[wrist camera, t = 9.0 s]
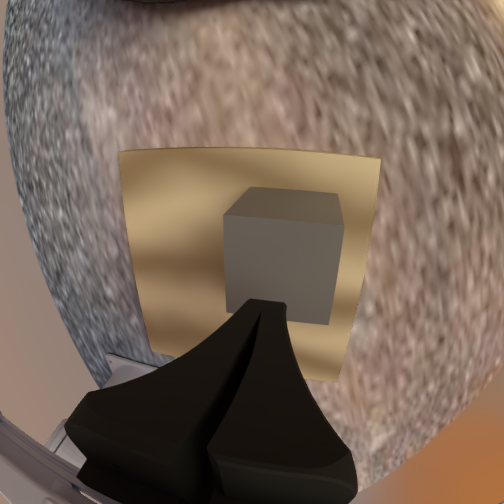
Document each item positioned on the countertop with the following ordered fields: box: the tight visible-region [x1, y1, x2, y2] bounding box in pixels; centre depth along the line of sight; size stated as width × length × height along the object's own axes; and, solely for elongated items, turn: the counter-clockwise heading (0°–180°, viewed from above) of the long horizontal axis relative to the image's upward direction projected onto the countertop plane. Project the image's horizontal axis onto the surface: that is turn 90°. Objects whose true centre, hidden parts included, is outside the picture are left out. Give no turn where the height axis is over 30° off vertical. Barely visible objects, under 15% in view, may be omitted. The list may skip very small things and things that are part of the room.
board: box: [119, 147, 381, 382], centre depth 22 cm, size 18×17×1 cm
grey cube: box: [223, 187, 345, 325], centre depth 16 cm, size 5×5×6 cm
